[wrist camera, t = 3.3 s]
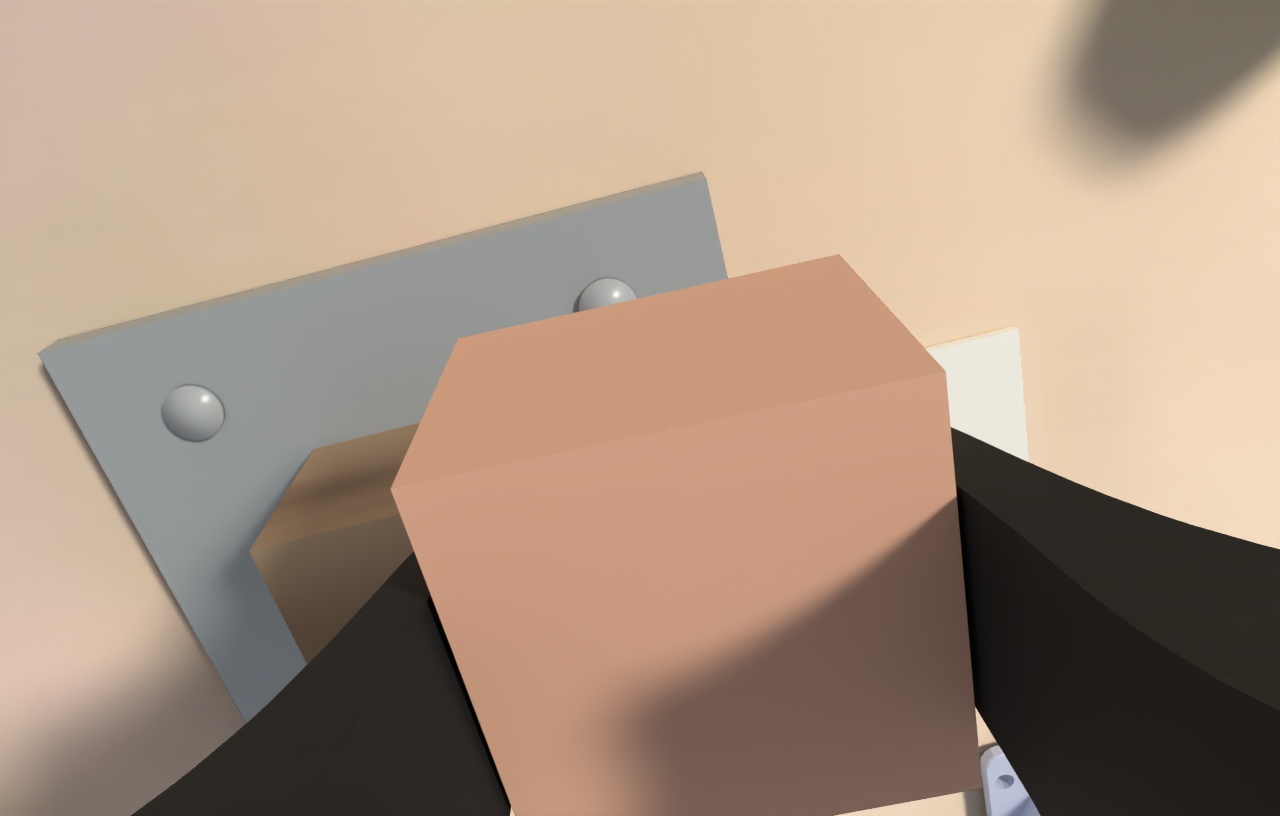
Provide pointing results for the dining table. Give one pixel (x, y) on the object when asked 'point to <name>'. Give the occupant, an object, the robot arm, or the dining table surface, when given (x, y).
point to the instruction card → (986, 388)
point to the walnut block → (335, 536)
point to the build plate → (332, 385)
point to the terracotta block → (703, 553)
